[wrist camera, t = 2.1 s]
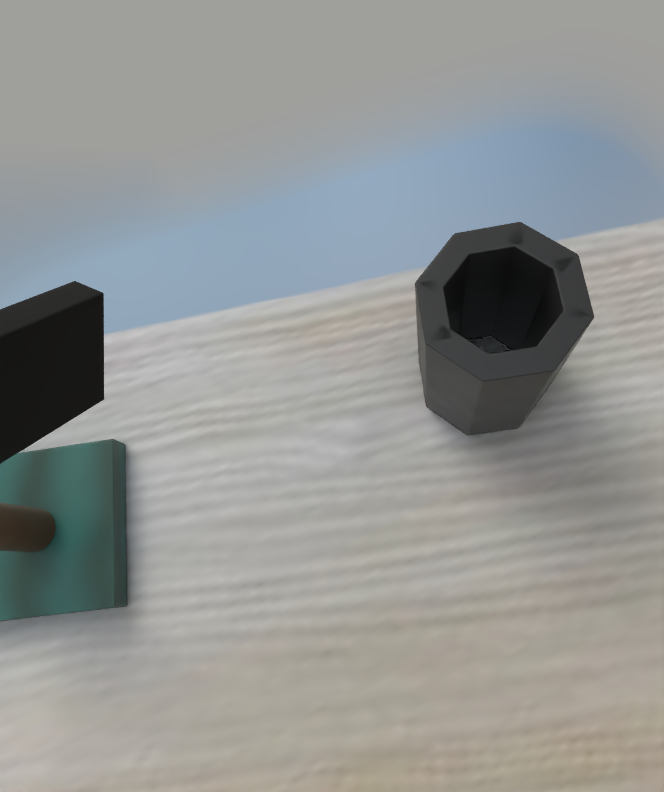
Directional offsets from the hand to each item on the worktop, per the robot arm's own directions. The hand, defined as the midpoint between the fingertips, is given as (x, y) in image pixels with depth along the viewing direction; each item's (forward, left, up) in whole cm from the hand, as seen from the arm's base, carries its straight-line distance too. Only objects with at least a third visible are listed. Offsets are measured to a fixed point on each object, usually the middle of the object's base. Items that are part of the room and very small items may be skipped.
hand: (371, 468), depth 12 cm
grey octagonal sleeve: (-6, -9, -25) cm, 27 cm away
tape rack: (+22, -3, -25) cm, 33 cm away
